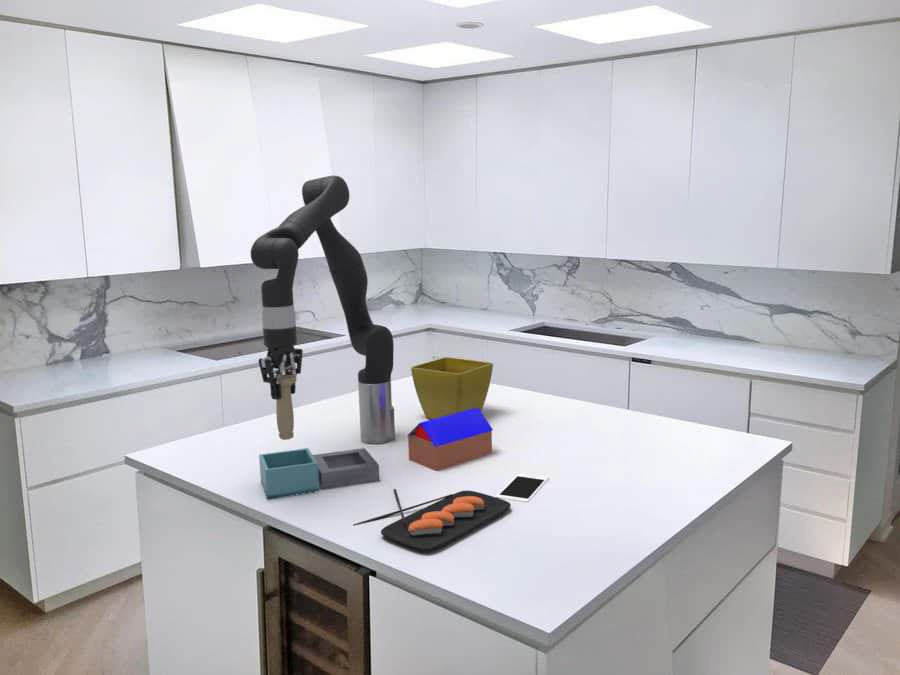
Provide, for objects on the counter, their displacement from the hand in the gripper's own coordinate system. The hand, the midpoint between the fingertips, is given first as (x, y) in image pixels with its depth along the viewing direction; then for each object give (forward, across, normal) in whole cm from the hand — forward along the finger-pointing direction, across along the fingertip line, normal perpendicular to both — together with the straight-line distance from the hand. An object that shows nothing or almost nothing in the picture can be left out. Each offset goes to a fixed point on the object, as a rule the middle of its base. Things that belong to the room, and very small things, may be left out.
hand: (283, 395), depth 178 cm
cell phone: (+23, +20, -52) cm, 61 cm away
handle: (+11, 0, 0) cm, 11 cm away
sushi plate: (+23, -3, -37) cm, 44 cm away
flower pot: (+23, +68, -13) cm, 73 cm away
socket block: (+22, +11, -8) cm, 27 cm away
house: (+23, +34, -27) cm, 49 cm away
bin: (+22, 0, 0) cm, 22 cm away
